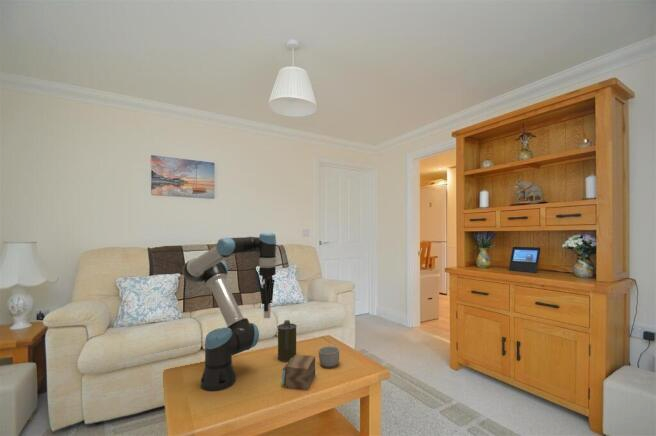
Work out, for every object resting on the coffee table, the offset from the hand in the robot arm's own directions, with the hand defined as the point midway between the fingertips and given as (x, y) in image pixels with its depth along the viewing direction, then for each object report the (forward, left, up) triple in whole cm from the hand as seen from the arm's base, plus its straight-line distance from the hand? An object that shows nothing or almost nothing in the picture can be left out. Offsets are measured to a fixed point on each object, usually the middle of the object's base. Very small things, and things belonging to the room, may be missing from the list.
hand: (267, 317), depth 147 cm
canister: (0, +28, -30) cm, 41 cm away
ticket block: (+15, +4, -30) cm, 33 cm away
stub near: (+9, 0, -25) cm, 27 cm away
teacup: (+24, +26, -30) cm, 46 cm away
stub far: (+9, +7, -25) cm, 28 cm away
